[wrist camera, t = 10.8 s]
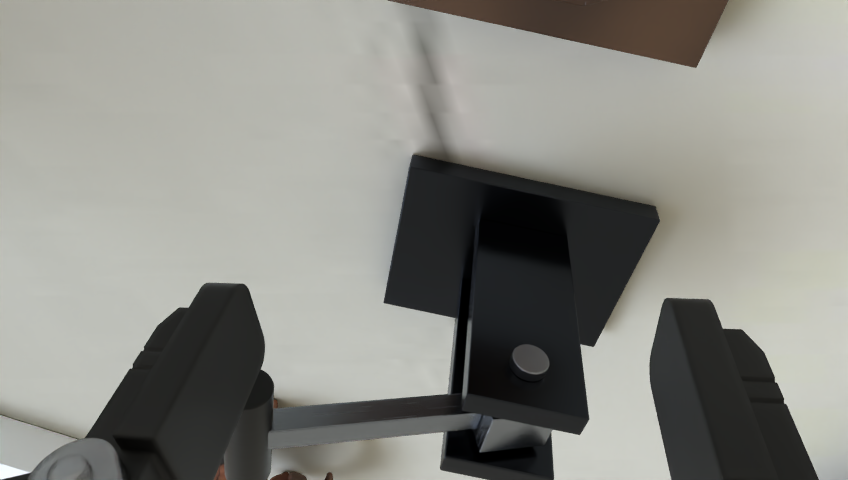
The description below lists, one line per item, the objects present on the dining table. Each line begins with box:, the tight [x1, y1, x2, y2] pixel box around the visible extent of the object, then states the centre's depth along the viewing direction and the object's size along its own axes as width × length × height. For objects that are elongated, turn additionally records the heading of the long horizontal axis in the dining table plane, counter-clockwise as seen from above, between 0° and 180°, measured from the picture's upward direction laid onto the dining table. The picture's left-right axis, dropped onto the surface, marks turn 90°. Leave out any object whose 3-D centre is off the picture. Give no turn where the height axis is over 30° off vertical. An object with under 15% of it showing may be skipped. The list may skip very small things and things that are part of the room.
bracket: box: [384, 155, 660, 480], centre depth 27 cm, size 12×9×12 cm
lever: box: [224, 370, 553, 480], centre depth 23 cm, size 12×5×2 cm, turn 80°
